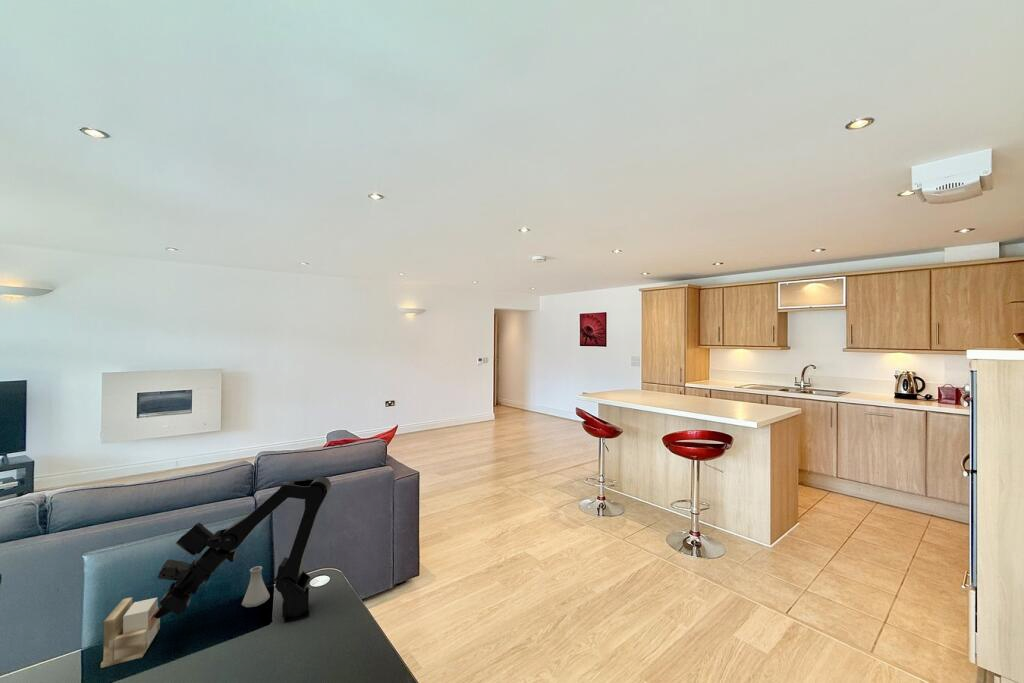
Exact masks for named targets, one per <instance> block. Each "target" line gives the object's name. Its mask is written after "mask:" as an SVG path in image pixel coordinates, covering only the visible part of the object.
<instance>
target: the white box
mask: <svg viewBox="0 0 1024 683" xmlns="http://www.w3.org/2000/svg"><path fill="white" fill-rule="evenodd" d="M158 598H159V597H154V598H148V599H144V600H139V601H134V602H132V606H131V607H130V608H129V610H128V611H127V612H126V613H125V615H124V616H123V634H127V633H131V632H136V631H140V630H144V629H147V647H148V645H149V644H150V642H151V641H152V639H153V637H154V636H155V634H156V633H157V634H158V632H157V620H158V619H157V618H155V617H154V616H155V615H156V613H157V612H158V610H159V609H160V607H159V606H158V605H159V604H158V602H159V601H158ZM157 634H156V635H157ZM155 637H156V636H155ZM155 637H154V638H155ZM153 640H154V639H153ZM152 642H153V641H152ZM152 642H151V643H152ZM150 645H151V644H150ZM150 645H149V646H150ZM148 648H149V647H148Z"/></svg>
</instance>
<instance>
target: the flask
mask: <svg viewBox="0 0 1024 683" xmlns="http://www.w3.org/2000/svg"><path fill="white" fill-rule="evenodd" d="M262 570H263V566H261V565H260V566H258V565H257V566H254V567H252V568H250V569H249V573H250V579H249V583H248V586H247V589H246V592H245V594H244V597H243V599H242V602H241V606H242V607H245V608H253V607H258V606H261V605H262V604H264V603H266V602H267V601H268V600H269V599H270V597H271V595H270V592H269V591H268V589H267V587H266V584H265V582H264V579H263V576H262Z"/></svg>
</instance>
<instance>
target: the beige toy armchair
mask: <svg viewBox="0 0 1024 683" xmlns="http://www.w3.org/2000/svg"><path fill="white" fill-rule="evenodd" d="M132 605H133V596H132V597H126V598H123V599H122V600H121V601H120V602H119V603H118V604H117V605H116V606H115V608H114V609H113V610H112V611H111V612H110V614H108V616H107V617H106V618H105V619H104V621H103V660H102V661H101V663H100V669H102V668H103V669H104V668H107V667H111V666H114V665H117V664H121V663H125V662H130V661H133V660H136V659H141V658H143V657H144V655H145V654H146V652H147V650H148V649H149V648H150V645H151V644H152V642H153V641H154V639H155V637H156V636H157V634H158V632H159V630H160V628H161V617H160V618H158V620H157V633H156V634H155V636H154V637H153V639H152V641H151V642H150V644H149V645H148V647H147V629H144V630H140V631H136V632H131V633H127V634H123V616H124V615H125V613H126V612H127V611H128V610H129V608H130V607H131V606H132Z"/></svg>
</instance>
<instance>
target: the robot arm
mask: <svg viewBox="0 0 1024 683" xmlns="http://www.w3.org/2000/svg"><path fill="white" fill-rule="evenodd" d="M331 487H332V482H331V481H330V479H328V477H325V476H318V477H315V478H313V479H312V478H311V479H302V480H289V481H286V482H284V483H283V484H282V485H281V486H280V487H279V488H278V490H276V491H275V492H274V493H273V494H272V495H270V496H269V497H268V498H267V499H266V500H265V501H264V502H262V503H261V504H260V505H259V506H258V507H257V508H256V509H255V510H253V511H252V512H251V513H249V514H248V515H246V516H245V517H242V518H241V519H239V520H238V521H236V522H234V523H232V524H231V525H230V526H229V527H227V528H224V529H219V530H217V531H216V532H215V533H213V532H211V531H210V530H209V529H208V528H206V527H205V526H204V525H203V524H202V523H201V522H197V523H196V524H195V525H194V526H193V527H192V528H190V529H189V530H188V531H187V532H186V533H185V534H183V535H181V536H180V537H179V539H178V540H177V541H176V542H175V544H176V545H177V546H178V547H180V549H182V550H183V551H185V552H186V553H188V554H189V555H190V556H196V555H200V554H201V553H202V552H203V551H204V550H205V549H206V550H205V551H204V552H203V553H202V554H201V555H200V556H199V557H198V558H197V559H193V561H192V562H191V563H187V562H184V561H179V560H175V559H167V560H166V561H165V562H164V564H163V565H162V567H161V568H160V571H159V572H158V575H157V579H158V580H167V581H173V582H172V583H171V585H170V586H169V588H168V589H167V591H166V592H165V593H164V595H163V597H162V598H161V599H160V601H158V602H159V605H160V607H159V610H158V612H157V613H156V615H155V616H154V617H155V618H157V619H158V618H160V619H161V618H162V617H163V616H166V615H168V614H170V613H174V614H175V615H177V616H181V615H183V614H184V612H185V611H186V610H188V607H189V605H190V604H191V596H192V595H193V596H194V595H195V594H196V593H197V592H198V590H200V587H202V585H203V584H204V583H205V582H208V581H209V580H210V579H211V577H212V575H213V574H214V573H215V572H216V570H218V568H219V567H220V566H222V564H224V562H225V561H226V560H227V561H229V562H230V563H233V562H234V561H235V560H236V558H237V551H238V549H237V548H238V547H239V546H240V545H241V544H242V543H243V542H245V540H246V539H247V538H248V537H249V536H250V535H251V533H252V532H253V531H254V530H255V528H256V527H257V526H258V524H260V523H261V522H262V521H263V520H265V518H266V517H267V516H269V515H270V514H271V513H272V512H273V511H274V510H276V509H277V508H278V507H279V506H281V505H282V504H283V502H285V501H286V500H287V499H288V498H290V499H299V500H304V511H303V514H302V518H301V520H300V523H299V525H298V526H299V527H298V530H297V533H296V535H295V538H294V541H293V544H292V548H291V551H290V552H289V553H290V554H289V556H288V557H285V556H284V558H283V559H282V561H280V562H281V563H280V564H279V566H278V568H277V573H276V574H277V575H276V576H275V577H274V580H273V581H274V582H275V585H274V586H275V589H276V591H278V592H279V593H280V594H281V597H282V598H283V599H282V602H281V603H282V604H281V605H282V606H281V608H282V610H281V614H282V618H283V623H289V622H292V621H297V620H300V619H304V618H307V617H309V616H310V612H311V611H310V607H311V606H310V605H311V604H310V587H309V584H310V581H311V576H310V575H309V574H308V573H306V572H305V571H304V567H305V566H304V565H305V554H306V550H307V548H308V545H309V542H310V538H311V536H312V534H313V533H312V532H313V530H314V526H315V524H316V520H317V517H318V514H319V510H320V509H321V507H322V505H323V503H324V502H325V500H326V498H327V496H328V494H329V492H330V491H331ZM207 547H208V549H207Z"/></svg>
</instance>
